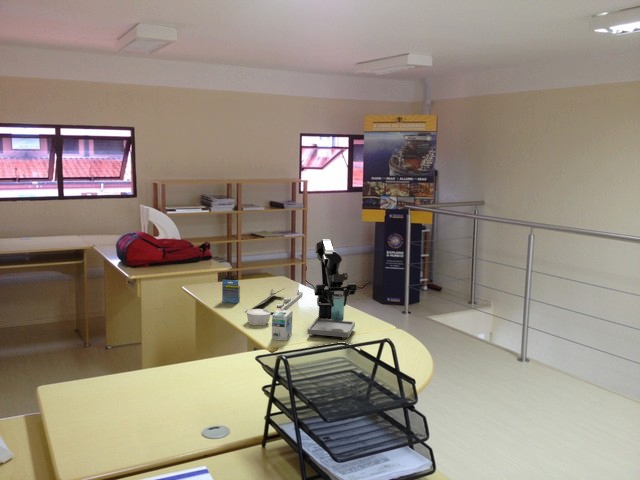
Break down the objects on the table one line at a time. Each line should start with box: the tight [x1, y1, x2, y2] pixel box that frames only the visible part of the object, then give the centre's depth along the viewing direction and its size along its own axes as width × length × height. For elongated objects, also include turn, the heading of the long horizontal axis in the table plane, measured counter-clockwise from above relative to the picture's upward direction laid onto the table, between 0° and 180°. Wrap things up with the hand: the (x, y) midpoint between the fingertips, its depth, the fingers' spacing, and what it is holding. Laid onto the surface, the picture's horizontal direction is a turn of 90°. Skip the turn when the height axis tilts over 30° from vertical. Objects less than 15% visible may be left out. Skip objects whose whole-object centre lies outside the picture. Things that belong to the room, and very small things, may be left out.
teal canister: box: [330, 293, 345, 321], centre depth 266 cm, size 6×6×11 cm
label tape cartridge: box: [221, 279, 241, 304], centre depth 317 cm, size 9×4×12 cm, turn 84°
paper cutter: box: [251, 287, 304, 314], centre depth 317 cm, size 18×45×6 cm, turn 166°
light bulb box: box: [271, 308, 293, 341], centre depth 261 cm, size 11×7×11 cm, turn 168°
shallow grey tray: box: [307, 317, 356, 341], centre depth 268 cm, size 18×18×4 cm
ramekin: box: [246, 308, 272, 326], centre depth 281 cm, size 11×11×5 cm
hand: (338, 305), depth 264 cm, fingers closed on teal canister, 5 cm apart
